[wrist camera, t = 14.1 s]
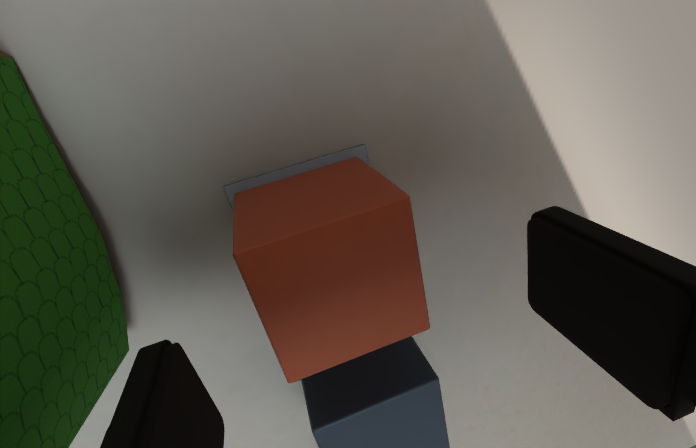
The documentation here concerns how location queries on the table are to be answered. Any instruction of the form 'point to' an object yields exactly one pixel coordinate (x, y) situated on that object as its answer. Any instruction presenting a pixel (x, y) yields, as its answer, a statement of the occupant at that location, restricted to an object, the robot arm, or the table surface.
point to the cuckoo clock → (49, 286)
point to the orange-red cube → (330, 265)
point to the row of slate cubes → (368, 375)
